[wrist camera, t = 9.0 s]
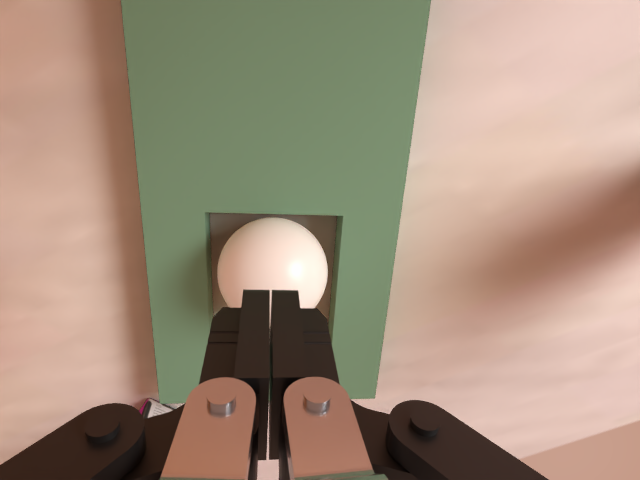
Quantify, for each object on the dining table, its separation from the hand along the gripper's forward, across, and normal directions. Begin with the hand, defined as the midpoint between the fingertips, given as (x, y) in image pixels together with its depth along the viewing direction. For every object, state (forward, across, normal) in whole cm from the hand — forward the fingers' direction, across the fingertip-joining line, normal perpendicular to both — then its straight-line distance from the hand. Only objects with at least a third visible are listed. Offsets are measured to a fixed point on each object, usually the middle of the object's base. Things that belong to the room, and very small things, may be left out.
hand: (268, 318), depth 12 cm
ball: (+11, 0, +5) cm, 12 cm away
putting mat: (+14, 0, +2) cm, 15 cm away
